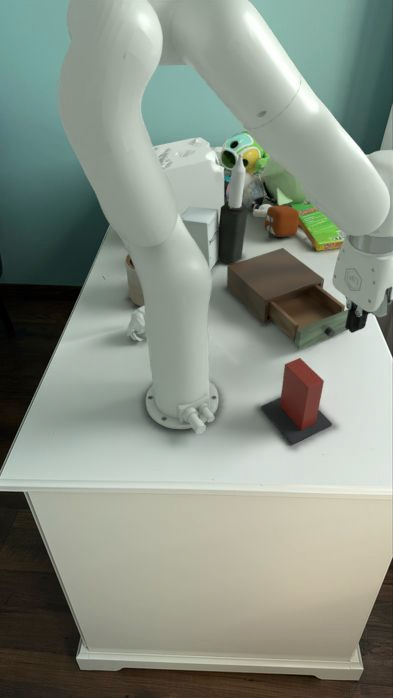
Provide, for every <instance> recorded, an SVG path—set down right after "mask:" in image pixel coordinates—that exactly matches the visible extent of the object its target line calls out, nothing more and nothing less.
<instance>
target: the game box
mask: <svg viewBox="0 0 393 698" xmlns="http://www.w3.org/2000/svg"><path fill="white" fill-rule="evenodd" d="M290 207H291V208H294V209H296V210H297V211H298V212H299V223H298V227H300V229H301V230H302V232H303V233H304V234H305V236H306V238H307V239H308V240H309V242H310V243H311V245H312V246H313V248H314V249H315V250H316V251H317V252H319V251H328V250H332V249H340V248H341V246H342V243H343V241H344V239H345V237H346V235H348V234H346V233H344V232H342V231H341V230H340V229H339V228H337V227H336V226H335V225H334V224H333V223H332V222H331V221H330V220H329V219H328V218H327V217H326V216H325V215H324V214H322V213H321V212H320V211H319V210H318V209H317V208H315V207H314V206H313V205H312V204H311V203H310V202H306V201H305V202H301V203H297V204H291V205H290Z"/></svg>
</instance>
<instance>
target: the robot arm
mask: <svg viewBox="0 0 393 698" xmlns="http://www.w3.org/2000/svg"><path fill="white" fill-rule="evenodd" d="M66 11H67V12H66V26H67V31H68V35H69V39H70V44H69V46H68V49H67V52H66V53H65V56H64V58H63V61H62V64H61V67H60V72H59V77H58V84H57V108H58V109H57V110H58V114H59V118H60V122H61V126H62V128H63V131H64V133H65V135H66V138H67V140H68V142H69V144H70V146H71V149H72V150H73V153H74V154H75V156H76V158H77V160H78V163H79V164H80V166H81V168H82V170H83V172H84V175H85V177H86V178H87V180H88V183H89V184H90V186H91V188H92V190H93V191H94V193H95V197H96V198H97V200H98V203H99V206H100V209H101V211H102V213H103V215H104V217H105V219H106V220H107V222H108V224H109V225H110V227H111V228H112V229H113V230H114V232H115V233H116V234H117V235H118V236H119V239H120V240H121V242H122V245H124V248H125V250H126V252H127V254H129V256H130V258H131V260H132V262H133V265H134V267H135V271H136V273H137V276H138V278H139V281H140V284H141V287H142V291H143V296H144V304H145V328H146V333H145V335H146V340H147V349H148V357H149V364H150V365H149V366H150V374H151V380H152V381H151V382H152V385H151V386H150V388H148V390H147V393H146V396H145V406H146V411H147V413H148V415H149V416H150V417H151V419H152V420H153V421H155V422H156V424H159V425H161V426H163V427H165V428H168V429H174V430H188V429H192V430H193V431H194V433H195V434H196V435H197V436H200V435H203V434H204V433H205V432H206V431H207V426H206V424H205V423H206V422H207V423H213V422H214V421H215V419H216V417H215V414H216V412H217V410H218V407H219V401H220V400H219V393H218V389H217V387H216V385H215V384H214V383H213V382H211V380H210V353H209V352H210V350H209V347H210V346H209V345H210V344H209V307H210V300H211V296H212V290H213V278H212V272H211V271H210V269H209V266H208V263H207V261H206V259H205V257H204V255H203V253H202V252H201V250H200V249H199V247H198V245H197V244H196V242H195V241H194V239H193V238H192V237H191V235H190V233H189V232H188V230H187V229H186V227H185V225H184V223H183V221H182V220H181V217H180V215H179V213H178V205H177V199H176V195H175V191H174V189H173V186H172V184H171V182H170V180H169V178H168V177H167V175H166V174H165V172H164V170H163V168H162V166H161V163H160V161H159V159H158V157H157V154H156V152H155V150H154V147H153V146H154V145H153V143H152V140H151V137H150V134H149V132H148V131H149V130H148V129H147V126H146V124H145V121H144V118H143V114H142V103H143V97H144V93H145V91H146V88H147V87H148V83H149V82H150V80H151V78H152V77H153V75H154V74H155V72H156V69H157V68H158V66H164V67H165V66H189V67H190V68H191V69H192V70H194V71H195V72H196V74H197V75H198V76H199V77H200V78H201V79H202V80H203V81H204V83H205V84H206V85H207V86H208V87H209V88H210V90H211V91H212V92H213V93H214V94H215V96H217V98H218V99H219V100H220V101H221V102H222V103H223V105H224V106H225V107H226V108H227V110H228V111H230V113H231V114H232V115H233V116H234V118H235V119H236V120H237V121H238V122H239V124H240V125H241V126H242V127H243V128H244V130H245V131H247V132H248V133H249V134H250V135H251V137H252V138H253V139H254V140H255V141H256V143H257V144H258V145H259V146H260V147H261V148H262V149H263V150H264V151H265V152H266V153H267V154H268V155H269V156H270V157H271V158H272V159H273V160H274V161H275V162H277V163H278V164H279V165H280V166H282V167H283V168H284V169H285V170H287V171H288V172H289V173H290V174H291V175H293V176H294V177H295V178H296V179H297V180H298V181H299V182H300V183H301V188H302V192H303V194H304V196H305V197H306V199H307V200H308V201H309V202H310V203H311V204H312V205H313V206H314V207H315V208H317V209H318V210H319V211H320V212H321V213H322V214H324V215H325V216H326V217H327V218H328V219H329V220H330V221H331V222H332V223H333V224H334V225H335V226H336V227H337V228H339V229H340V230H341V231H342V232H344V233H346V234H348V235H346V237H345V239H344V241H343V243H342V246H341V248H339V251H338V255H337V257H336V261H335V265H334V270H333V274H332V286H333V288H335V290H337V291H338V292H339V293H340V294H341V295H343V296H344V297H345V308H346V310H349V311H348V315H347V320H346V325H345V328H346V329H347V330H346V331H349V332H350V333H351V334H353V333H355V332H357V331H360V330H363V329H364V328H365V327H366V325H367V320H368V316H369V315H370V314H371V315H373V316H375V317H377V318H383V317H385V316H387V314H388V306H390V305H391V304H392V302H393V149H383V150H382V149H381V150H377V151H374V152H371V153H369V154H365V153H364V151H363V150H362V149H361V147H360V145H358V144H357V142H356V141H355V140H354V139H353V137H351V135H349V133H348V132H347V131H346V130H345V128H344V127H343V126H342V125H341V124H340V122H339V121H338V120H337V119H336V118H335V116H334V115H333V114H332V111H330V110H329V108H328V107H327V106H326V105H325V103H323V102H322V100H321V99H320V98H319V97H318V96H317V95H316V94H315V92H314V91H313V89H312V87H311V86H310V85H309V84H308V82H307V81H306V79H305V78H304V76H303V75H302V74H301V72H300V71H299V69H298V68H297V66H296V65H295V63H294V62H293V61H292V59H291V58H290V56H289V54H288V53H287V51H286V50H285V48H284V47H283V45H282V44H281V43H280V41H279V39H278V38H277V37H276V35H275V34H274V32H273V31H272V29H271V28H270V26H269V25H268V24H267V22H266V21H265V19H264V18H263V17H262V15H261V13H260V12H259V11H258V10H257V8H256V7H255V6H254V5H253V3H252V2H251V1H249V0H70V1H69V3H68V6H67V10H66ZM348 329H349V330H348Z"/></svg>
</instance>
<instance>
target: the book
mask: <svg viewBox="0 0 393 698" xmlns="http://www.w3.org/2000/svg"><path fill="white" fill-rule="evenodd" d="M283 368H284V369H283V377H282V385H281V394H280V398H281V401H280V407H281V409H282V410H283V411H284V412H285V413H286V414H287V415H288V416H289V417H290V419H291V420H292V421H293V422H294V423H295V424H296V425H297V426H298V427H299V429H300V430H303V429H305V428H307V427H309V426H312V425H314V424H316V420H317V414H318V410H320V403H321V399H322V392H323V388H324V383H325V380H324V379H323V378H322V377H320V375H318V374H317V373H316V371H315V370H313V369H312V368H311V366H309V365H308V364H307V362H305V361H304V360H303V359H302V358H301V357H298V358H296V359H294V360H292V361H288V362H286V363H284V367H283Z"/></svg>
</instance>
